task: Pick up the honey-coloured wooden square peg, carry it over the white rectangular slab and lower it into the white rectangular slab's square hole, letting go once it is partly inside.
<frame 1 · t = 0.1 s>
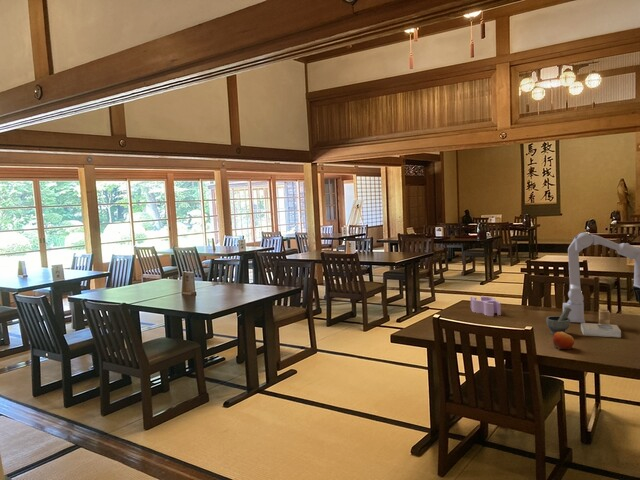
clip: (486, 312, 271), on the table
white rectangular slab: (605, 333, 222), on the table
peg: (604, 327, 232), on the table
mortar and pestle: (559, 333, 226), on the table
fruit: (563, 348, 205), on the table
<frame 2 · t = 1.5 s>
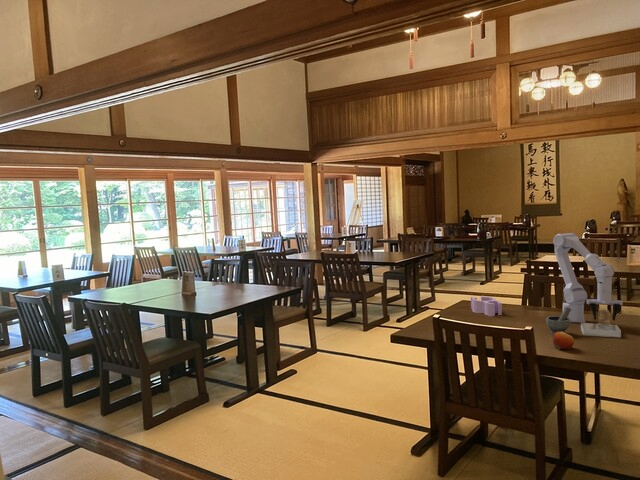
hand: (604, 319, 231), 4 cm above the table, tool pointing down, fingers open, 7 cm apart
nothing on the table moved.
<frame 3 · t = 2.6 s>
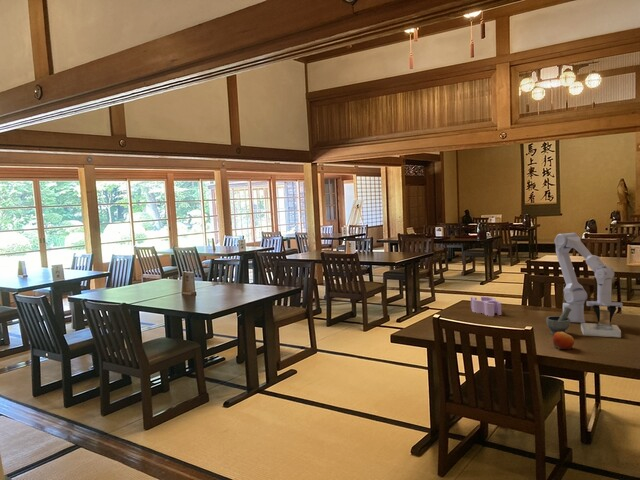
hand: (604, 321, 231), 3 cm above the table, tool pointing down, fingers closed on peg, 4 cm apart
peg: (604, 327, 232), on the table, touching gripper
everything else where it was.
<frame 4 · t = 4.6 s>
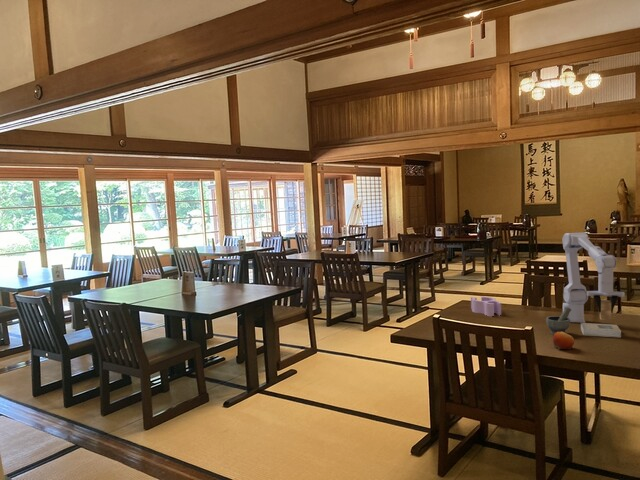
hand: (605, 312, 222), 10 cm above the table, tool pointing down, fingers closed on peg, 4 cm apart
peg: (605, 318, 222), point 7 cm above the table, touching gripper
everything else where it was.
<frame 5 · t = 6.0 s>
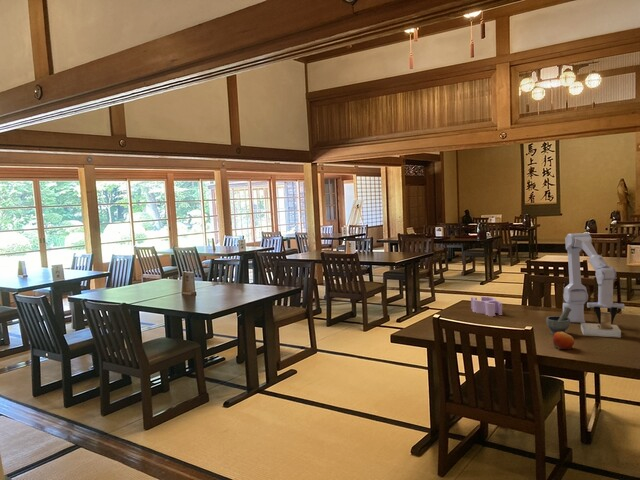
hand: (605, 323, 222), 5 cm above the table, tool pointing down, fingers closed on peg, 4 cm apart
peg: (605, 330, 222), point 1 cm above the table, touching gripper
everything else where it was.
when the fingers open (4 cm above the table, at t = 6.9 s): peg drops 1 cm, resting in white rectangular slab.
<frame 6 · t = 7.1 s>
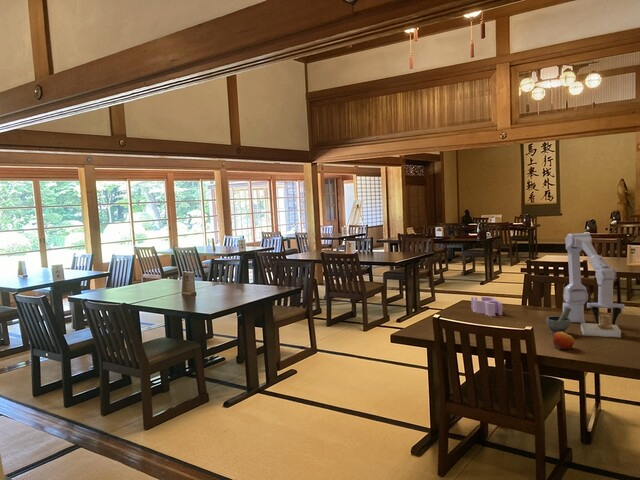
hand: (605, 324, 222), 4 cm above the table, tool pointing down, fingers open, 6 cm apart
peg: (605, 333, 223), resting in white rectangular slab
everything else where it was.
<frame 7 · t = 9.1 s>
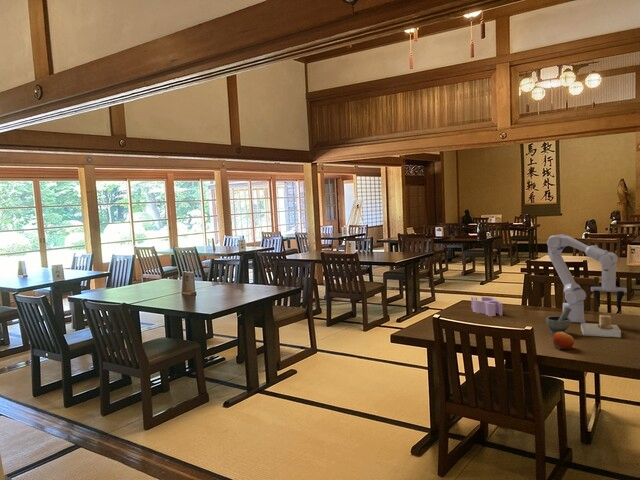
hand: (608, 306, 232), 9 cm above the table, tool pointing down, fingers open, 7 cm apart
nothing on the table moved.
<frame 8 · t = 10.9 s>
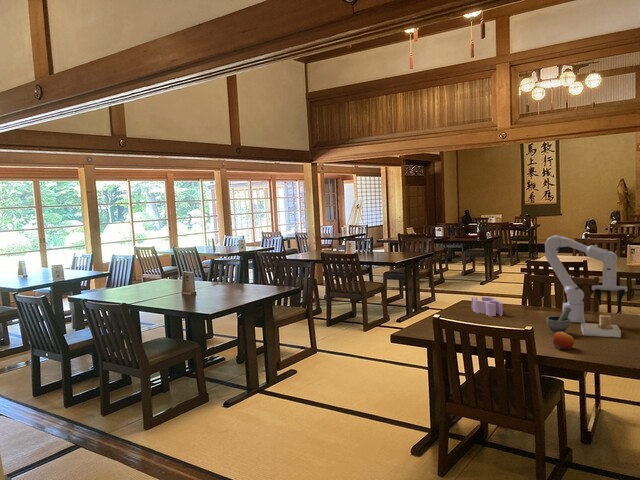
hand: (609, 305, 236), 9 cm above the table, tool pointing down, fingers open, 7 cm apart
nothing on the table moved.
at the end: peg 0.3 cm off-centre on the white rectangular slab, point 0.0 cm above the white rectangular slab's base; peg tilted 0°; the gripper is holding nothing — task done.
